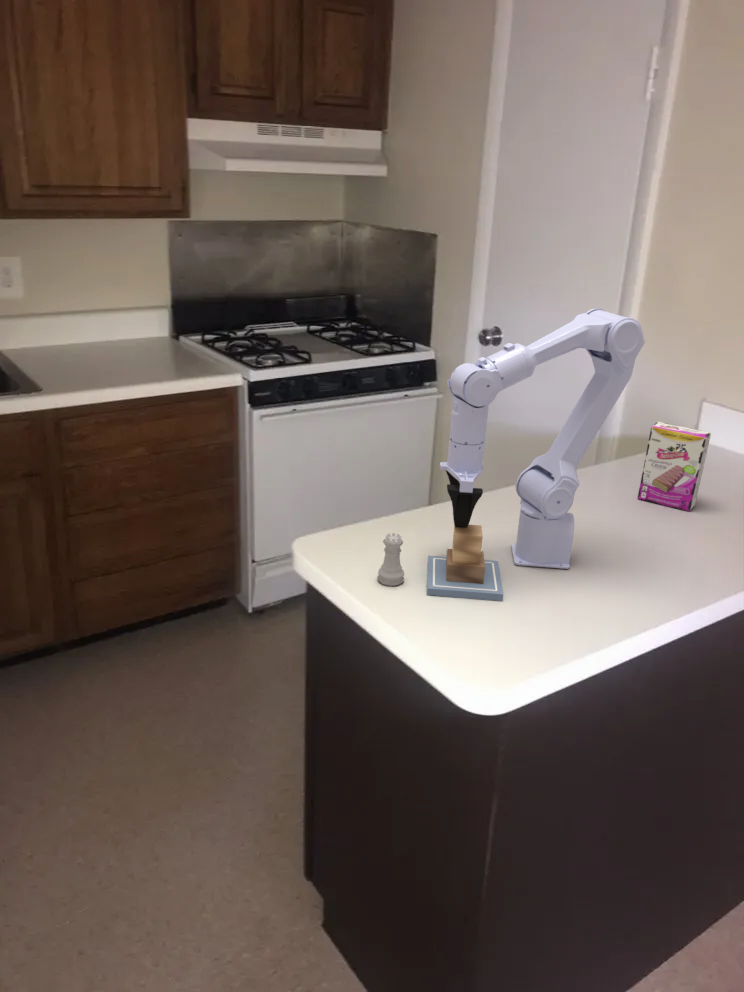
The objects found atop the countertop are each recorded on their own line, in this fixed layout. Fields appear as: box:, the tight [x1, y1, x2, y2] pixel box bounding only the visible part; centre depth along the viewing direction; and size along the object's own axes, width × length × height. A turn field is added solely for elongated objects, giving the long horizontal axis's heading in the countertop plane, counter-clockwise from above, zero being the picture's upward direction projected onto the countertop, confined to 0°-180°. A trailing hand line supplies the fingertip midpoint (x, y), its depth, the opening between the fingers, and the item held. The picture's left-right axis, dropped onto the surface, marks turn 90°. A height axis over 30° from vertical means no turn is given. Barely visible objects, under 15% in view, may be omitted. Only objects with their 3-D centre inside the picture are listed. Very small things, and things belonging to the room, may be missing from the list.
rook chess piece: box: [377, 532, 405, 587], centre depth 134 cm, size 4×4×8 cm
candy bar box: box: [637, 421, 712, 512], centre depth 172 cm, size 11×5×16 cm, turn 58°
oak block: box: [451, 524, 484, 565], centre depth 135 cm, size 4×4×5 cm
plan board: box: [426, 548, 504, 602], centre depth 136 cm, size 12×12×4 cm
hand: (459, 517), depth 138 cm, fingers open, 7 cm apart
